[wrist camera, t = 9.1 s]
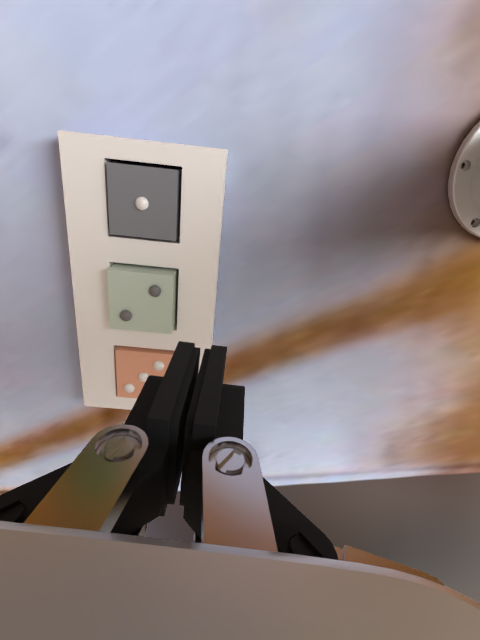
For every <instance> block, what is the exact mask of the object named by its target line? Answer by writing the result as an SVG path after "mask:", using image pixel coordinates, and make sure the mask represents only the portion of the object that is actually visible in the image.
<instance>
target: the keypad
mask: <svg viewBox="0 0 480 640" xmlns="http://www.w3.org/2000/svg"><path fill="white" fill-rule="evenodd" d="M58 141H59V151H60V161H61V172H62V182H63V192H64V203H65V213H66V223H67V234H68V244H69V254H70V265H71V275H72V285H73V296H74V306H75V316H76V327H77V337H78V347H79V357H80V368H81V378H82V388H83V399H84V406H91V407H103V408H116V409H128V410H132V408H133V406H134V404H135V402H136V400H137V398H126V397H117V376H116V356H115V349H116V348H117V346H128V347H140V348H151V349H162V350H173V351H175V349H176V346H177V344H178V342H179V341H183V342H191V343H195V347H198V348H200V360H199V369H200V365H201V362H202V358H203V354H204V350H205V348H206V349H211V346H212V345H213V333H214V321H215V308H216V296H217V283H218V271H219V258H220V246H221V233H222V221H223V208H224V196H225V183H226V171H227V159H228V150H226V149H218V148H209V147H200V146H192V145H183V144H174V143H165V142H157V141H148V140H139V139H131V138H122V137H113V136H104V135H96V134H87V133H78V132H70V131H61V130H58ZM116 159H118V160H127V161H136V162H145V163H154V164H163V165H172V166H181V167H182V186H181V217H180V237H179V238H178V239H177V240H176V241H170V240H161V239H151V238H141V237H132V236H122V235H112V234H110V231H109V210H108V190H107V169H106V162H115V163H116ZM115 263H126V264H136V265H146V266H156V267H166V268H176V269H179V279H178V310H177V318H176V324H175V326H174V329H173V331H172V334H165V333H155V332H144V331H133V330H122V329H111V328H110V314H109V295H108V276H107V269H108V268H110V267H111V266H112V265H114V264H115ZM198 373H199V372H198Z"/></svg>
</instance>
